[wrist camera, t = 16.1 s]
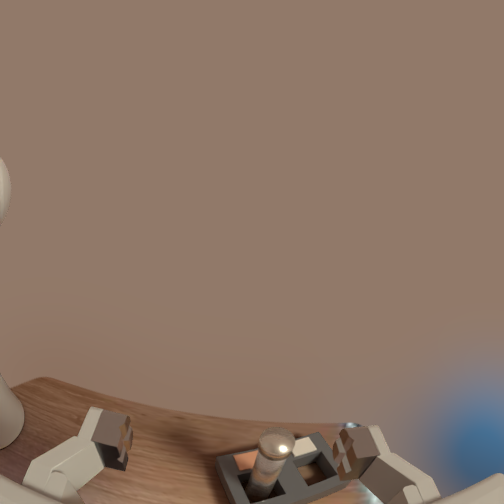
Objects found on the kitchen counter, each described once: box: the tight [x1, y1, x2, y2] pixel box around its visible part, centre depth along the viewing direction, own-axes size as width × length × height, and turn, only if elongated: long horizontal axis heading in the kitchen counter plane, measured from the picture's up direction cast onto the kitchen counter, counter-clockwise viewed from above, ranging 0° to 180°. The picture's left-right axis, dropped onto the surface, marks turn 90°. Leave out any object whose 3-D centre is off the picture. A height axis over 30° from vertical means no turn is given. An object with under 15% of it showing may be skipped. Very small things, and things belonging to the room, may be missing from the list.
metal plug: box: [245, 427, 295, 503], centre depth 29 cm, size 4×4×14 cm
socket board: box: [215, 432, 351, 504], centre depth 33 cm, size 16×10×3 cm, turn 111°
